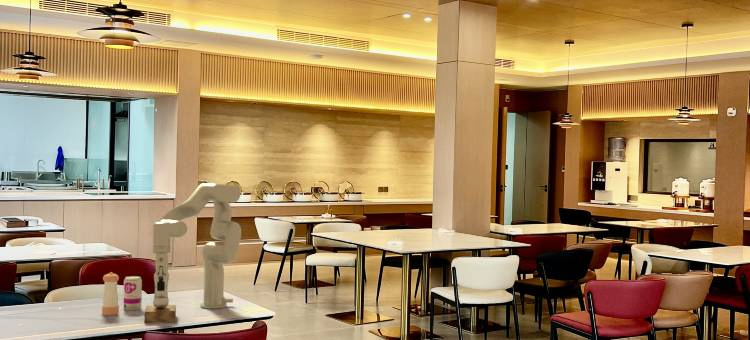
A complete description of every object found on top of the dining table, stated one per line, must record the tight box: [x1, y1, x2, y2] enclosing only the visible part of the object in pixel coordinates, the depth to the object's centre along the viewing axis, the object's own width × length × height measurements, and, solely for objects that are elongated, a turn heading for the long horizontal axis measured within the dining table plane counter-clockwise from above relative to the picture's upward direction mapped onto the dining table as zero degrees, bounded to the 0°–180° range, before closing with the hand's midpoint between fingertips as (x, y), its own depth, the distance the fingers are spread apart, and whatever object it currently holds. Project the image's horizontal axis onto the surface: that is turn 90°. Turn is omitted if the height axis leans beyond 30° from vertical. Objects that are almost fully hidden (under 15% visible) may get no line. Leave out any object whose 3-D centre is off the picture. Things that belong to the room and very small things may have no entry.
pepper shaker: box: [101, 271, 120, 316], centre depth 347 cm, size 7×7×19 cm
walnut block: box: [144, 304, 177, 324], centre depth 337 cm, size 13×13×5 cm
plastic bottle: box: [152, 268, 170, 308], centre depth 337 cm, size 6×7×20 cm
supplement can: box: [123, 275, 143, 311], centre depth 359 cm, size 8×8×15 cm
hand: (161, 289), depth 337 cm, fingers closed on plastic bottle, 5 cm apart
